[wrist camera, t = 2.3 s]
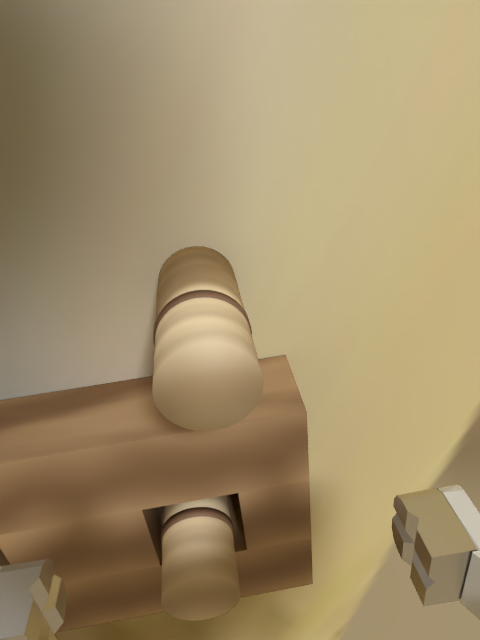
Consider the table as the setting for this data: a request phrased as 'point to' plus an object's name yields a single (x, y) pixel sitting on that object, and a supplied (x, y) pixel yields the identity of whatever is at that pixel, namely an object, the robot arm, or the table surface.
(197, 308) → the leg
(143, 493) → the board
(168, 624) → the table surface
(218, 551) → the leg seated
